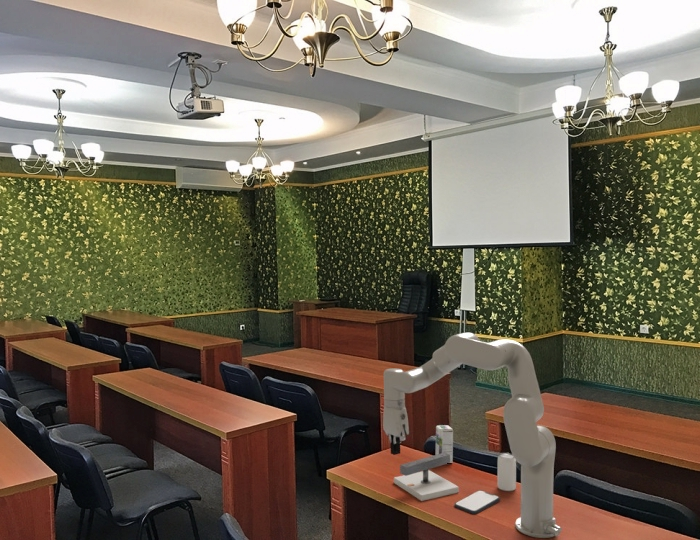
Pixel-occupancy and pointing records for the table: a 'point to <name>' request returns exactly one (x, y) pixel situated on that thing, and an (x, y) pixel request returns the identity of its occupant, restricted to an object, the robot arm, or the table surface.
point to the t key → (424, 465)
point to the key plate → (426, 485)
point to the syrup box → (444, 440)
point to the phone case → (477, 502)
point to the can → (506, 472)
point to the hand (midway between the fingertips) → (395, 453)
